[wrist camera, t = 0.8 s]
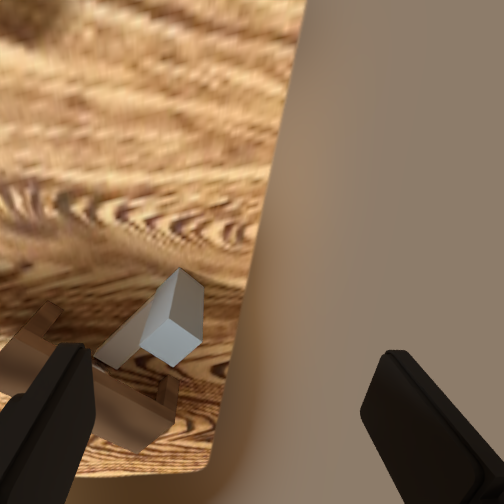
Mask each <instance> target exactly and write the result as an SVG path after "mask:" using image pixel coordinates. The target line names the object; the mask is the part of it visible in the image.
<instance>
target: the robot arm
mask: <svg viewBox="0 0 504 504" xmlns="http://www.w3.org/2000/svg"><path fill="white" fill-rule="evenodd" d="M360 416H361V419H362V422H363V423H364V426H365V427H366V429H367V431H368V433H369V435H370V437H371V439H372V441H373V443H374V445H375V447H376V449H377V451H378V452H379V455H380V456H381V458H382V460H383V462H384V464H385V466H386V468H387V470H388V472H389V474H390V476H391V478H392V480H393V482H394V484H395V486H396V488H397V490H398V492H399V493H400V495H401V497H402V499H403V501H404V503H405V504H504V462H503V461H502V460H501V458H500V457H499V456H498V455H497V454H496V453H495V451H494V450H493V449H492V448H491V447H490V446H489V444H488V443H487V442H486V441H485V440H484V439H483V438H482V436H481V435H480V434H479V433H478V432H477V431H476V430H475V429H474V427H473V426H472V425H471V424H470V423H469V422H468V421H467V419H466V418H465V417H464V416H463V415H462V414H461V412H460V411H459V410H458V409H457V408H456V407H455V406H454V405H453V404H452V402H451V401H450V400H449V399H448V398H447V396H446V395H445V394H444V393H443V392H442V391H441V389H440V388H439V387H438V386H437V385H436V384H435V383H434V381H433V380H432V379H431V378H430V377H429V376H428V375H427V373H426V372H425V371H424V370H423V369H422V368H421V367H420V365H419V364H418V363H417V362H416V361H415V360H414V359H413V357H412V356H411V355H410V354H409V353H408V352H407V351H405V350H388V351H386V352H385V354H383V355H382V356H381V358H380V361H379V363H378V366H377V368H376V371H375V373H374V376H373V378H372V381H371V383H370V386H369V388H368V391H367V393H366V396H365V399H364V402H363V404H362V406H361V409H360ZM95 419H96V407H95V395H94V383H93V371H92V359H91V350H90V349H85V347H84V344H83V343H60V344H59V345H58V346H57V347H56V348H55V350H54V351H53V353H52V354H51V356H50V357H49V359H48V360H47V362H46V363H45V365H44V366H43V368H42V369H41V370H40V372H39V373H38V375H37V376H36V378H35V379H34V381H33V382H32V384H31V385H30V387H29V388H28V390H27V391H26V392H25V393H17V394H16V395H14V396H13V397H12V398H11V399H10V400H9V401H8V402H7V404H6V405H5V407H4V408H3V409H2V411H1V412H0V504H64V503H65V501H66V498H67V496H68V493H69V490H70V488H71V485H72V482H73V480H74V477H75V475H76V472H77V469H78V467H79V464H80V461H81V459H82V456H83V453H84V451H85V448H86V446H87V443H88V440H89V438H90V435H91V432H92V430H93V427H94V424H95Z"/></svg>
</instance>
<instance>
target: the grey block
mask: <svg viewBox="0 0 504 504" xmlns="http://www.w3.org/2000/svg"><path fill="white" fill-rule="evenodd" d="M203 311H204V286H202V285H201V284H200V283H199V282H197V281H196V280H195V279H194V278H192V277H191V276H190V275H189V274H187V273H186V272H185V271H184V270H182V269H181V268H180V267H179V268H178V269H177V270H176V271H175V272H174V273H173V274H172V275H171V276H170V277H169V278H168V279H167V280H166V281H165V282H164V283H162V284H161V285H160V286H159V287H158V288H157V290H156V293H155V294H154V295H153V296H152V297H151V298H150V299H149V300H148V301H147V302H146V303H145V304H143V305H142V306H141V307H140V308H139V309H138V310H137V311H136V312H135V313H134V314H133V315H132V316H131V317H130V318H129V319H128V320H127V321H126V322H125V323H124V324H123V325H122V326H121V327H119V328H118V329H117V330H116V331H115V332H114V333H113V334H112V335H111V336H110V337H109V338H108V339H107V340H106V341H105V342H104V343H103V344H102V345H101V346H100V347H99V348H98V349H97V350H96V352H95V354H94V357H95V358H97V359H99V360H101V361H102V362H104V363H106V364H108V365H109V366H111V367H113V368H115V369H116V370H117V369H118V368H119V367H120V366H122V365H123V364H124V363H125V362H126V361H127V360H128V359H129V358H130V357H131V356H132V355H134V354H135V353H136V352H137V351H138V350H139V349H140V348H143V349H145V350H146V351H148V352H149V353H151V354H153V355H154V356H156V357H157V358H159V359H160V360H162V361H164V362H165V363H167V364H168V365H170V366H172V367H174V366H175V365H177V364H178V363H179V362H180V361H181V360H182V359H184V358H185V357H186V356H187V355H188V354H189V353H190V352H192V351H193V350H194V349H195V348H196V347H197V346H198V345H200V344H201V343H202V340H203Z"/></svg>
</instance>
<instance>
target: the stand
mask: <svg viewBox="0 0 504 504" xmlns="http://www.w3.org/2000/svg"><path fill="white" fill-rule="evenodd" d="M62 311H63V310H62V309H61V308H59V307H58V306H56V305H54V304H53V303H51V302H49V301H47V302H46V303H45V304H44V305H43V306H42V307H41V308H40V309H39V310H38V311H37V312H36V314H35V315H34V316H33V317H32V318H31V319H30V320H29V321H28V322H27V323H26V324H25V326H24V327H22V328H21V329H20V331H19V332H18V333H17V334H16V335H15V336H14V337H13V338H12V339H11V340H10V341H9V342H8V343H7V344H6V346H5V347H4V348H3V349H2V350H1V351H0V392H2V393H4V394H6V395H9V396H11V397H13V396H14V395H16V394H17V393H25V392H26V391H27V390H28V388H29V387H30V385H31V384H32V382H33V381H34V379H35V378H36V376H37V375H38V373H39V372H40V370H41V369H42V368H43V366H44V365H45V363H46V362H47V360H48V359H49V357H50V356H51V354H52V353H53V351H54V350H55V348H56V347H57V346H55V345H53V344H51V343H50V342H48V341H46V340H44V339H42V337H43V336H44V334H45V333H46V332H47V331H48V329H49V328H50V327H51V325H52V324H53V323H54V322H55V320H56V319H57V318H58V316H59V315H60V314H61V313H62ZM92 371H93V383H94V395H95V407H96V419H95V424H94V427H93V430H92V432H91V433H92V434H94V435H96V436H98V437H100V438H103V439H105V440H107V441H109V442H111V443H114V444H116V445H118V446H120V447H122V448H124V449H127V450H129V451H131V452H133V453H135V454H138V453H139V452H141V451H142V450H143V449H144V448H146V447H147V446H148V445H149V444H150V443H152V442H153V441H154V440H155V439H157V438H158V437H159V436H160V435H161V434H163V433H164V432H165V431H166V430H168V429H169V428H170V427H171V426H172V425H174V424H175V416H176V408H177V399H178V391H179V382H180V381H179V380H177V379H175V378H174V377H172V376H170V375H167V376H166V377H165V378H164V379H163V380H162V381H160V382H159V386H158V391H157V396H156V401H155V400H153V399H152V398H150V397H148V396H146V395H143V394H141V393H140V392H138V391H136V390H134V389H132V388H131V387H129V386H127V385H125V384H123V383H122V382H120V381H118V380H116V379H114V378H113V377H111V376H109V375H107V374H105V373H104V372H102V371H100V370H98V369H96V368H95V367H93V366H92Z"/></svg>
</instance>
